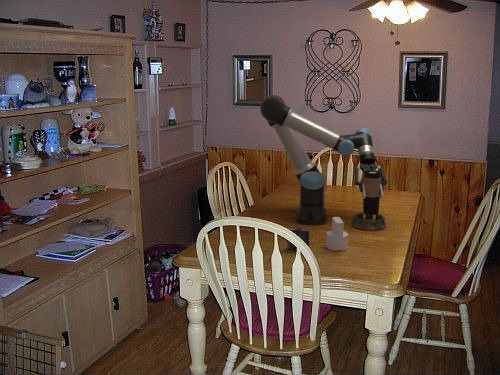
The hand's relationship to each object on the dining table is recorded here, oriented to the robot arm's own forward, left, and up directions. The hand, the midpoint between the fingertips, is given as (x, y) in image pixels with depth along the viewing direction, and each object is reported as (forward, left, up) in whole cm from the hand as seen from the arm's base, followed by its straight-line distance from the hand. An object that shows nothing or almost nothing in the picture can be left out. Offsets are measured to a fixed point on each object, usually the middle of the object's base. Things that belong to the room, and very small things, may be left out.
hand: (373, 197), depth 255 cm
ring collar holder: (+1, +3, -15) cm, 15 cm away
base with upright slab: (-31, -12, -15) cm, 36 cm away
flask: (-47, -6, -15) cm, 50 cm away
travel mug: (+2, +3, -9) cm, 9 cm away
